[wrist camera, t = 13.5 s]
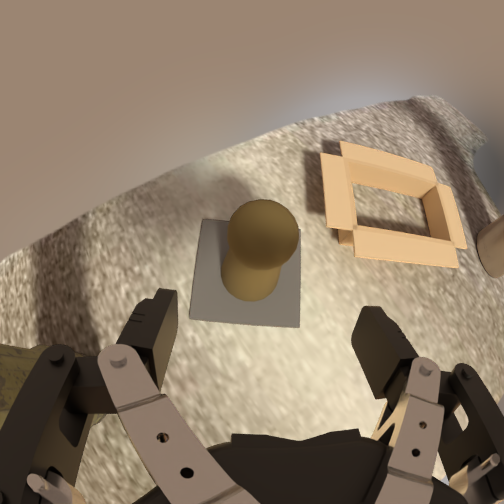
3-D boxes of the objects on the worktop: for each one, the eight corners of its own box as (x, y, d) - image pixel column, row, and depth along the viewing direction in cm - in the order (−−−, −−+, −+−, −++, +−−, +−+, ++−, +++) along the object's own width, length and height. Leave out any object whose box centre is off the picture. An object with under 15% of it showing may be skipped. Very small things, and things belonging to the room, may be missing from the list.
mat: (299, 231, 32) (300, 229, 31) (298, 327, 27) (299, 327, 27) (203, 220, 31) (202, 218, 30) (189, 319, 27) (189, 318, 26)
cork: (224, 305, 27) (227, 271, 17) (217, 249, 29) (216, 189, 19) (283, 297, 28) (319, 260, 18) (273, 243, 30) (299, 184, 20)
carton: (431, 185, 38) (444, 171, 34) (453, 278, 32) (471, 269, 28) (310, 155, 36) (318, 136, 33) (315, 266, 30) (328, 253, 26)
